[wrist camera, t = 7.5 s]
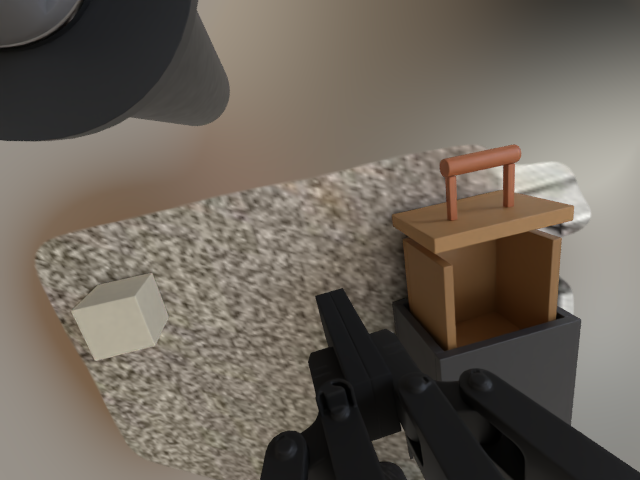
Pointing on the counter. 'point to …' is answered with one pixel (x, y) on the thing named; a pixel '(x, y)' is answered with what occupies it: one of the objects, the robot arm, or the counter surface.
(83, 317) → the block
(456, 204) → the drawer
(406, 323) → the cabinet
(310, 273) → the counter surface
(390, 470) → the travel mug
